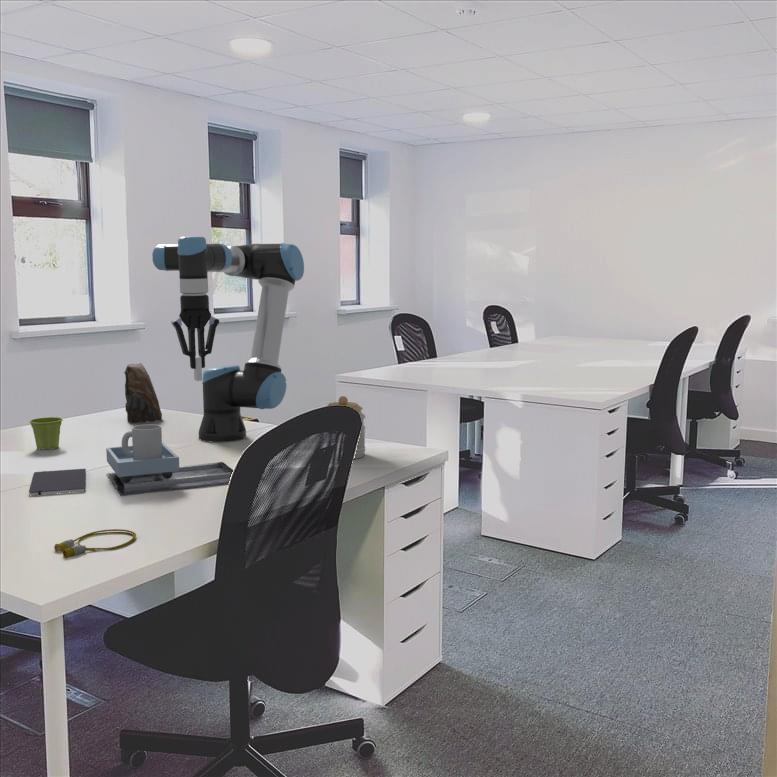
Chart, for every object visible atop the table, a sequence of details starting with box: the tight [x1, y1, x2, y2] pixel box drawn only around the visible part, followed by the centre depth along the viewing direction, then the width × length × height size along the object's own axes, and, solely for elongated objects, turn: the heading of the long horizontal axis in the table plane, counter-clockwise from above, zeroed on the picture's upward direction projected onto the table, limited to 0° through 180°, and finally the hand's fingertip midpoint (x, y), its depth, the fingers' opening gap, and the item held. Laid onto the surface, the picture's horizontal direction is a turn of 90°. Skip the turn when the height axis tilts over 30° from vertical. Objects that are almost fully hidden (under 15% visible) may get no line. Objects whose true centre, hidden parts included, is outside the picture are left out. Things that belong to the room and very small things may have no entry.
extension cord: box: [53, 528, 137, 558], centre depth 166 cm, size 12×16×2 cm
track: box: [106, 461, 234, 497], centre depth 216 cm, size 30×22×2 cm
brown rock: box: [123, 362, 163, 424], centre depth 300 cm, size 13×13×20 cm
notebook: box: [28, 468, 87, 496], centre depth 211 cm, size 13×2×21 cm
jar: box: [326, 395, 366, 460], centre depth 244 cm, size 13×13×18 cm
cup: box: [121, 423, 163, 461], centre depth 212 cm, size 7×10×9 cm
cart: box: [105, 442, 180, 483], centre depth 212 cm, size 15×19×6 cm
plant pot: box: [28, 416, 64, 451], centre depth 252 cm, size 9×9×9 cm
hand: (198, 380), depth 231 cm, fingers closed
